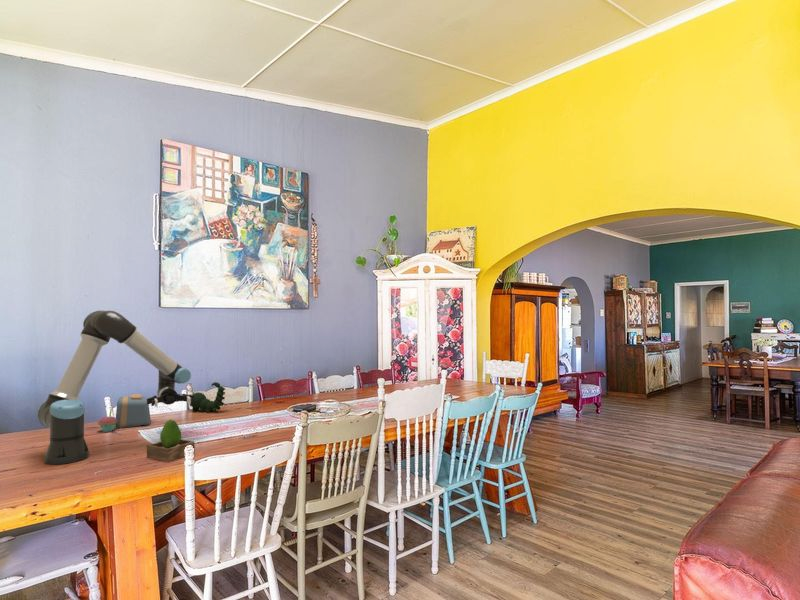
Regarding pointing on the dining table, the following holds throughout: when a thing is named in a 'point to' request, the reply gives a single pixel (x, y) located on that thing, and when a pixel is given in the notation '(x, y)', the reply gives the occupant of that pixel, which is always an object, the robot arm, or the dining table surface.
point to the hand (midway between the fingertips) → (173, 402)
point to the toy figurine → (206, 403)
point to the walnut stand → (168, 450)
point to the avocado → (170, 434)
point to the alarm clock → (132, 411)
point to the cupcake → (107, 423)
